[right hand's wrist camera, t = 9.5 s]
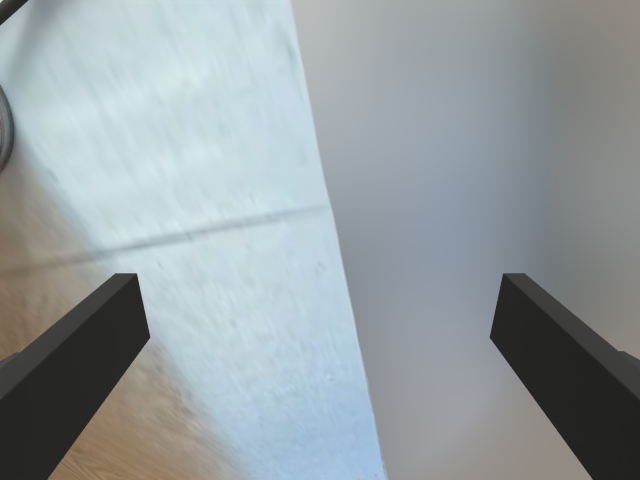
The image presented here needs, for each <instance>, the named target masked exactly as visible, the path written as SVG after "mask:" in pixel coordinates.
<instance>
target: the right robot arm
mask: <svg viewBox="0 0 640 480" xmlns="http://www.w3.org/2000/svg"><path fill="white" fill-rule="evenodd" d="M27 1H28V0H3V1H2V2H1V3H0V25H1V24H2V23H4V22H5V21H6V20H7V19H8V18H9V17H10V16H11V15H12V14H14V13H15V12H16V11H17V10H18V9H19V8H20V7H21V6H23V5H24V4H25V3H26V2H27ZM13 141H14V126H13V119H12V113H11V110H10V106H9V104H8V101H7V98H6V96H5V94H4V92H3V89H2V88H1V86H0V171H1V170H2V168H3V167H4V166H5V164H6V163H7V161H8V159H9V157H10V154H11V151H12V147H13ZM149 339H150V334H149V329H148V324H147V320H146V315H145V310H144V305H143V301H142V296H141V291H140V286H139V282H138V277H137V273H115V274H114V275H113V276H112V277H111V278H109V279H108V280H107V281H106V282H105V283H103V284H102V285H101V286H100V287H99V288H97V289H96V290H95V291H94V292H92V293H91V294H90V295H89V296H88V297H86V298H85V299H84V300H83V301H82V302H80V303H79V304H78V305H77V306H76V307H74V308H73V309H72V310H71V311H70V312H68V313H67V314H66V315H65V316H64V317H62V318H61V319H60V320H59V321H58V322H56V323H55V324H54V325H53V326H51V327H50V328H49V329H48V330H47V331H45V332H44V333H43V334H42V335H41V336H39V337H38V338H37V339H36V340H35V341H33V342H32V343H31V344H30V345H29V346H27V347H26V348H25V349H24V350H23V351H21V352H20V353H15V354H13V355H11V356H10V357H8V358H6V359H4V360H2V361H0V480H47V479H48V478H49V476H50V475H51V473H52V472H53V471H54V469H55V468H56V467H57V465H58V464H59V462H60V461H61V460H62V458H63V457H64V456H65V454H66V453H67V451H68V450H69V449H70V447H71V446H72V445H73V443H74V442H75V440H76V439H77V438H78V436H79V435H80V434H81V432H82V431H83V429H84V428H85V427H86V425H87V424H88V423H89V421H90V420H91V418H92V417H93V416H94V414H95V413H96V412H97V410H98V409H99V407H100V406H101V405H102V403H103V402H104V401H105V399H106V398H107V396H108V395H109V394H110V392H111V391H112V389H113V388H114V387H115V385H116V384H117V383H118V381H119V380H120V378H121V377H122V376H123V374H124V373H125V372H126V370H127V369H128V367H129V366H130V365H131V363H132V362H133V361H134V359H135V358H136V356H137V355H138V354H139V352H140V351H141V350H142V348H143V347H144V345H145V344H146V343H147V341H148V340H149ZM490 339H491V340H492V341H493V343H494V344H495V345H496V347H497V348H498V350H499V351H500V352H501V354H502V355H503V356H504V358H505V359H506V361H507V362H508V363H509V365H510V366H511V367H512V369H513V370H514V372H515V373H516V374H517V376H518V377H519V378H520V380H521V381H522V383H523V384H524V385H525V387H526V388H527V389H528V391H529V392H530V394H531V395H532V396H533V398H534V399H535V400H536V402H537V403H538V405H539V406H540V407H541V409H542V410H543V411H544V413H545V414H546V416H547V417H548V418H549V420H550V421H551V422H552V424H553V425H554V427H555V428H556V429H557V431H558V432H559V434H560V435H561V436H562V438H563V439H564V440H565V442H566V443H567V445H568V446H569V447H570V449H571V450H572V451H573V453H574V454H575V456H576V457H577V458H578V460H579V461H580V462H581V464H582V465H583V467H584V468H585V469H586V471H587V472H588V473H589V475H590V476H591V478H592V479H593V480H640V360H639V359H637V358H635V357H633V356H631V355H630V354H628V353H626V352H624V351H617V350H616V349H615V348H614V347H613V346H611V345H610V344H609V343H608V342H607V341H605V340H604V339H603V338H602V337H601V336H599V335H598V334H597V333H596V332H594V331H593V330H592V329H591V328H590V327H589V326H587V325H586V324H585V323H584V322H582V321H581V320H580V319H579V318H578V317H576V316H575V315H574V314H573V313H572V312H570V311H569V310H568V309H567V308H566V307H564V306H563V305H562V304H561V303H560V302H558V301H557V300H556V299H555V298H553V297H552V296H551V295H550V294H549V293H548V292H546V291H545V290H544V289H543V288H541V287H540V286H539V285H538V284H537V283H535V282H534V281H533V280H532V279H531V278H529V277H528V276H527V275H526V274H524V273H504V274H503V277H502V282H501V286H500V291H499V296H498V301H497V305H496V310H495V315H494V320H493V324H492V329H491V334H490Z"/></svg>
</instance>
